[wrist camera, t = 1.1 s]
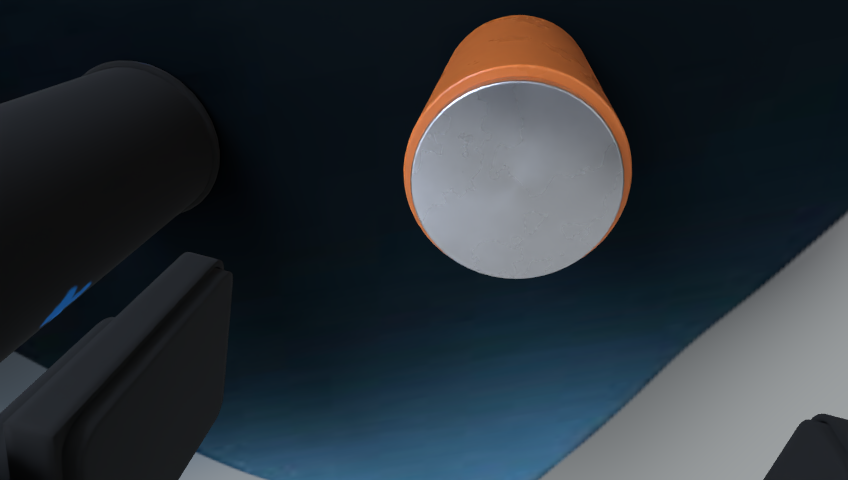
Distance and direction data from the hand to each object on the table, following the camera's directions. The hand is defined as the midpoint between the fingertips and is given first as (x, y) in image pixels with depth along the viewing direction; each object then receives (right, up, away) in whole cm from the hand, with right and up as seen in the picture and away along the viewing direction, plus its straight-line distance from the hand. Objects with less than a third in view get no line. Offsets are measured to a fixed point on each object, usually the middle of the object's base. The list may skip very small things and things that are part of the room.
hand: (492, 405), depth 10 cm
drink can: (+3, +10, +18) cm, 21 cm away
